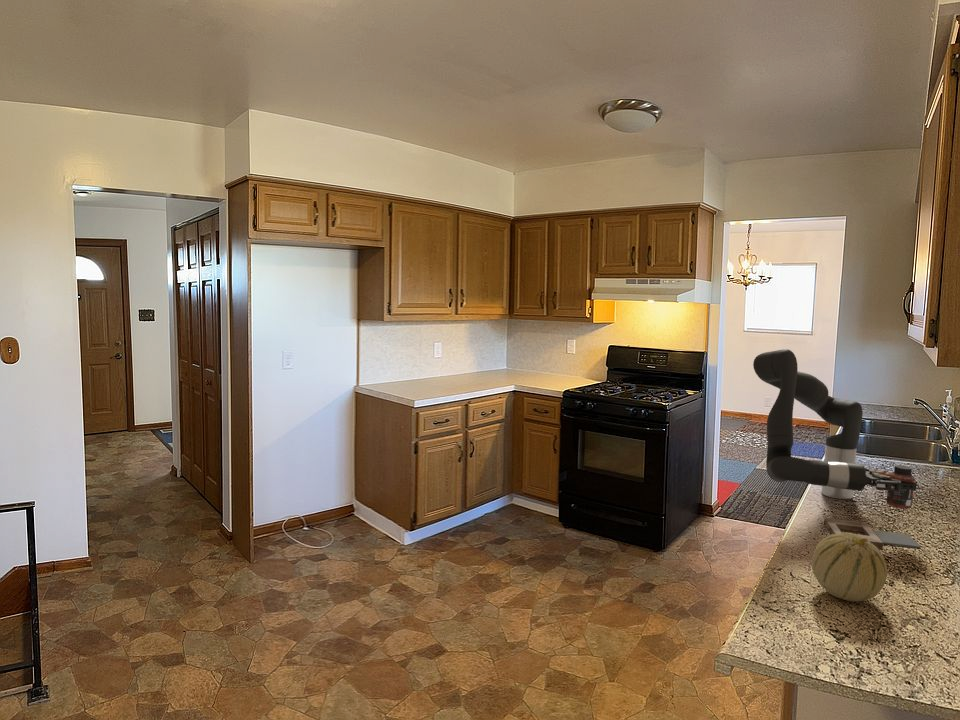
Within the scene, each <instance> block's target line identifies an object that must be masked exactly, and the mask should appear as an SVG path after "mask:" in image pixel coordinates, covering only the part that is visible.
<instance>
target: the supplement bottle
mask: <svg viewBox="0 0 960 720" xmlns="http://www.w3.org/2000/svg"><path fill="white" fill-rule="evenodd" d="M912 471H913V468H912V467H911V466H906V465H901V464H896V465H894V469H893V472H890V477H891V478H892V479H896V480H902V481H911V482H915V483H916V481H915V479H916V478H915V476H914V475H912ZM891 486H895V484H892V485H891ZM886 493H887V494H886V504H887V505H888V506H890V507H893V508H895V509H896V508H897V509H903V510H909V509H911V508H912V507H913V506H912V505H913V498H914V490H907V489H900V491H886Z"/></svg>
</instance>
